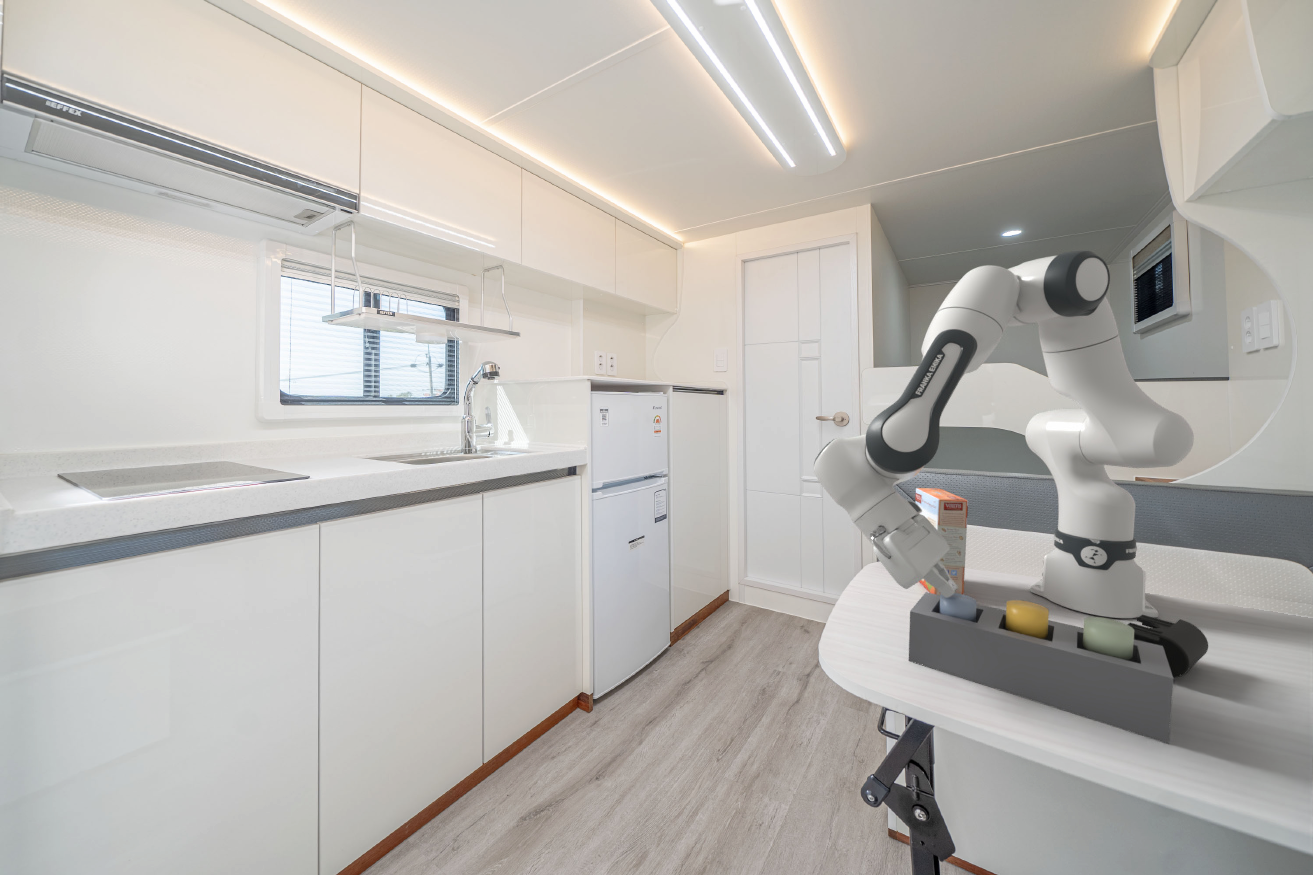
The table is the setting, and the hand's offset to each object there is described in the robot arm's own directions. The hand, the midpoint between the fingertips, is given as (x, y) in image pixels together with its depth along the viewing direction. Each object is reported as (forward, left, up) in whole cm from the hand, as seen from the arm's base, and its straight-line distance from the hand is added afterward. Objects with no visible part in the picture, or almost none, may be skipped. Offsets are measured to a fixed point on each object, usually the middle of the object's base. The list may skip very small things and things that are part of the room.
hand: (952, 593), depth 75 cm
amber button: (0, +9, -3) cm, 10 cm away
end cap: (-18, +25, -11) cm, 32 cm away
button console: (0, +9, -11) cm, 14 cm away
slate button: (0, +1, -4) cm, 4 cm away
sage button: (0, +18, -3) cm, 18 cm away
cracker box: (-32, -8, -11) cm, 35 cm away
